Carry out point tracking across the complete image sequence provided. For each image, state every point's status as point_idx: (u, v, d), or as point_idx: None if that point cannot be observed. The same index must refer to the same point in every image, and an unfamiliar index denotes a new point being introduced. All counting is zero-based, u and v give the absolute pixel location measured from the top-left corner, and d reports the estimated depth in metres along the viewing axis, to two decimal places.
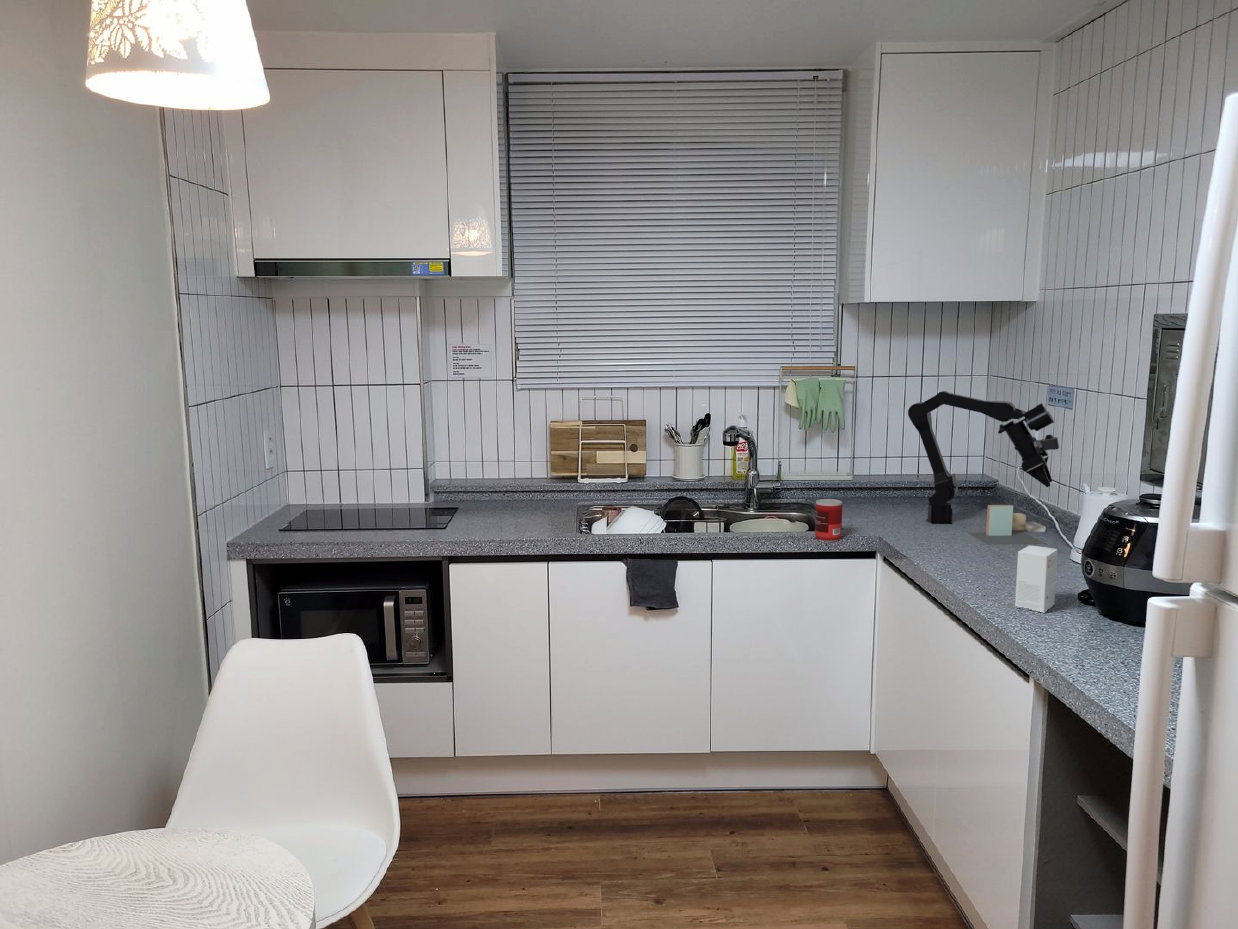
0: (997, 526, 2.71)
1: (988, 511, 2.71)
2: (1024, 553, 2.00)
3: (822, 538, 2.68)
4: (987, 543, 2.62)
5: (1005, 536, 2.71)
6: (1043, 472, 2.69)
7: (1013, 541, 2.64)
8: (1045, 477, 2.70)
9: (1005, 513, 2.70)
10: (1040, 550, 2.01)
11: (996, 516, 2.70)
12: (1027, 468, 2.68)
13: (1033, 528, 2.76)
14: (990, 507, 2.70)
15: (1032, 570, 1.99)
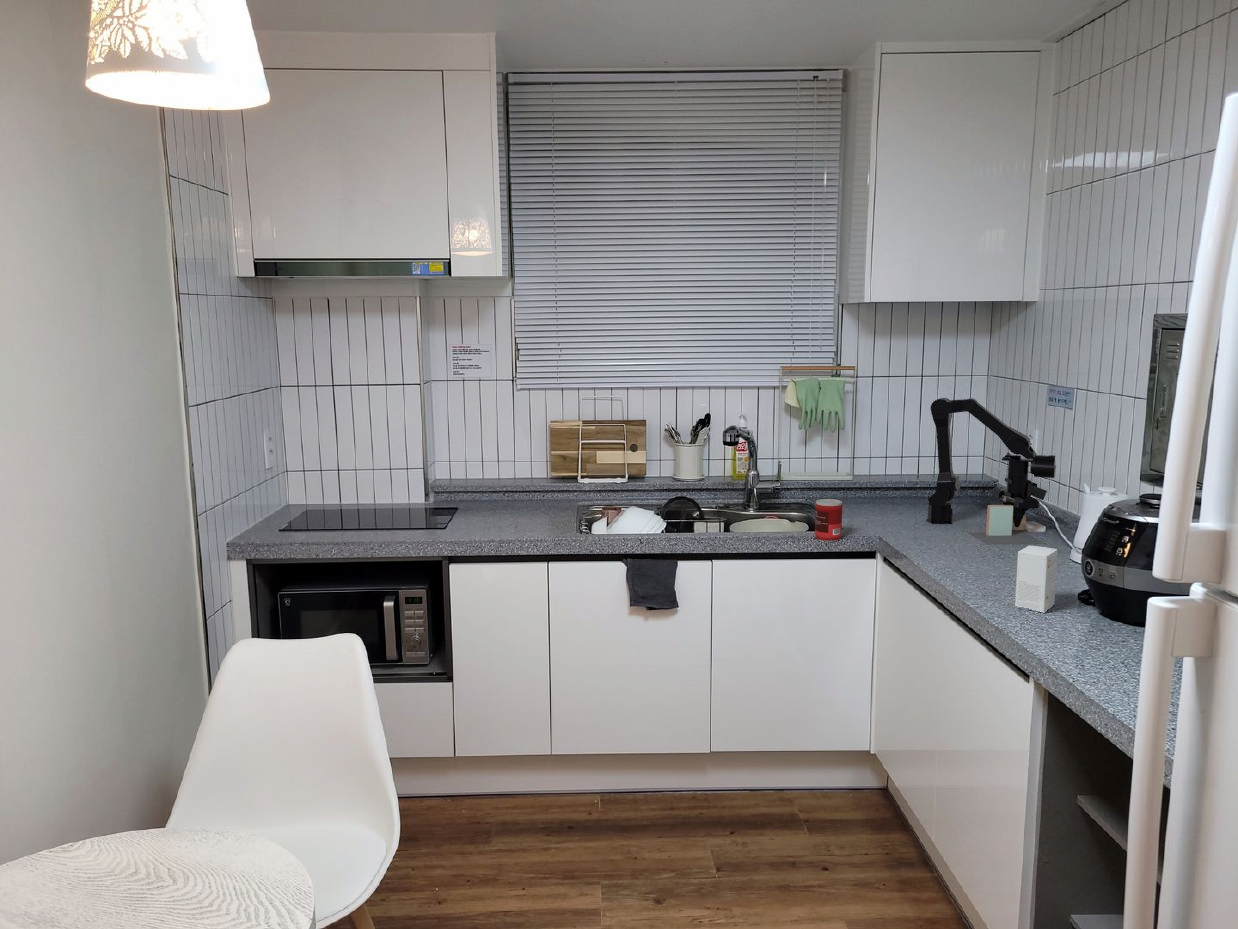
0: (997, 526, 2.71)
1: (988, 511, 2.71)
2: (1024, 553, 2.00)
3: (822, 538, 2.68)
4: (987, 543, 2.62)
5: (1005, 536, 2.71)
6: (1023, 513, 2.77)
7: (1013, 541, 2.64)
8: (1021, 518, 2.77)
9: (1005, 513, 2.70)
10: (1040, 550, 2.01)
11: (996, 516, 2.70)
12: (1023, 506, 2.70)
13: (1033, 528, 2.76)
14: (990, 507, 2.70)
15: (1032, 570, 1.99)
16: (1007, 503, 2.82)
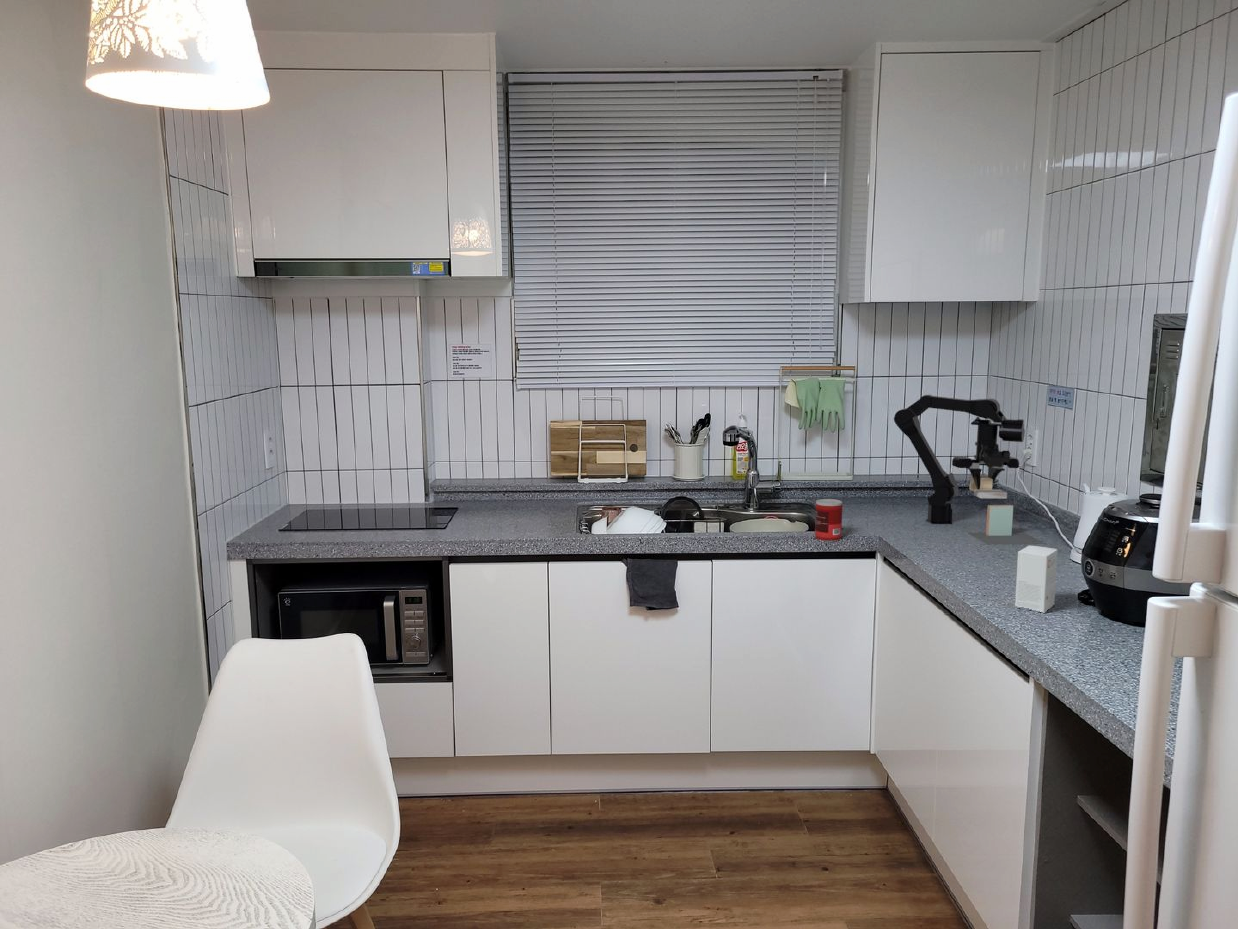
0: (997, 526, 2.71)
1: (988, 511, 2.71)
2: (1024, 553, 2.00)
3: (822, 538, 2.68)
4: (987, 543, 2.62)
5: (1005, 536, 2.71)
6: (975, 476, 2.81)
7: (1013, 541, 2.64)
8: (976, 481, 2.82)
9: (1005, 513, 2.70)
10: (1040, 550, 2.01)
11: (996, 516, 2.70)
12: (952, 464, 2.84)
13: (975, 491, 2.79)
14: (990, 507, 2.70)
15: (1032, 570, 1.99)
16: (989, 468, 2.84)
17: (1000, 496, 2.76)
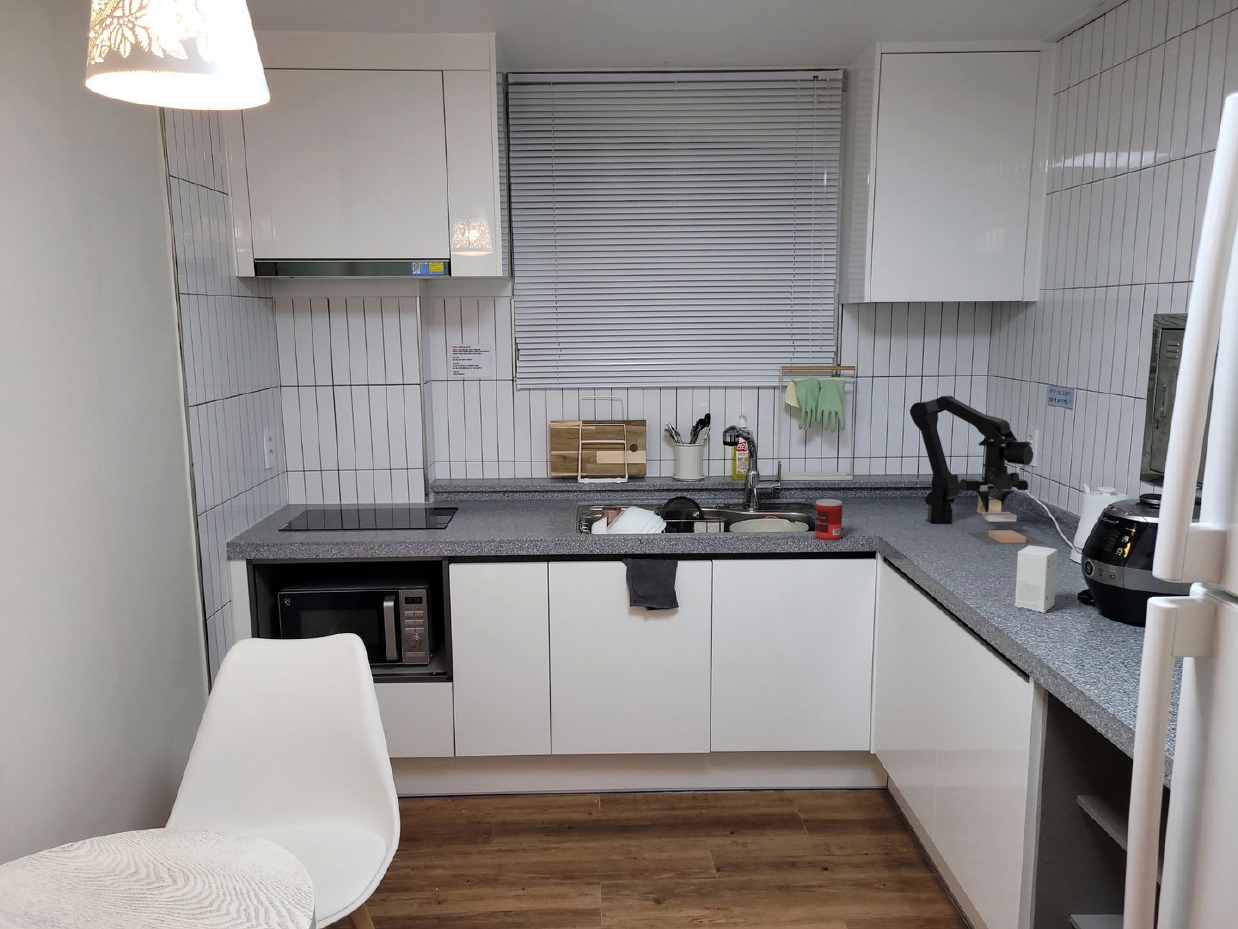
0: None
1: (998, 539, 2.64)
2: (1024, 553, 2.00)
3: (822, 538, 2.68)
4: (987, 543, 2.62)
5: None
6: (983, 498, 2.75)
7: None
8: (984, 503, 2.76)
9: None
10: (1040, 550, 2.01)
11: None
12: (960, 486, 2.77)
13: (984, 514, 2.73)
14: (1001, 542, 2.63)
15: (1032, 570, 1.99)
16: (998, 489, 2.78)
17: (1010, 519, 2.69)
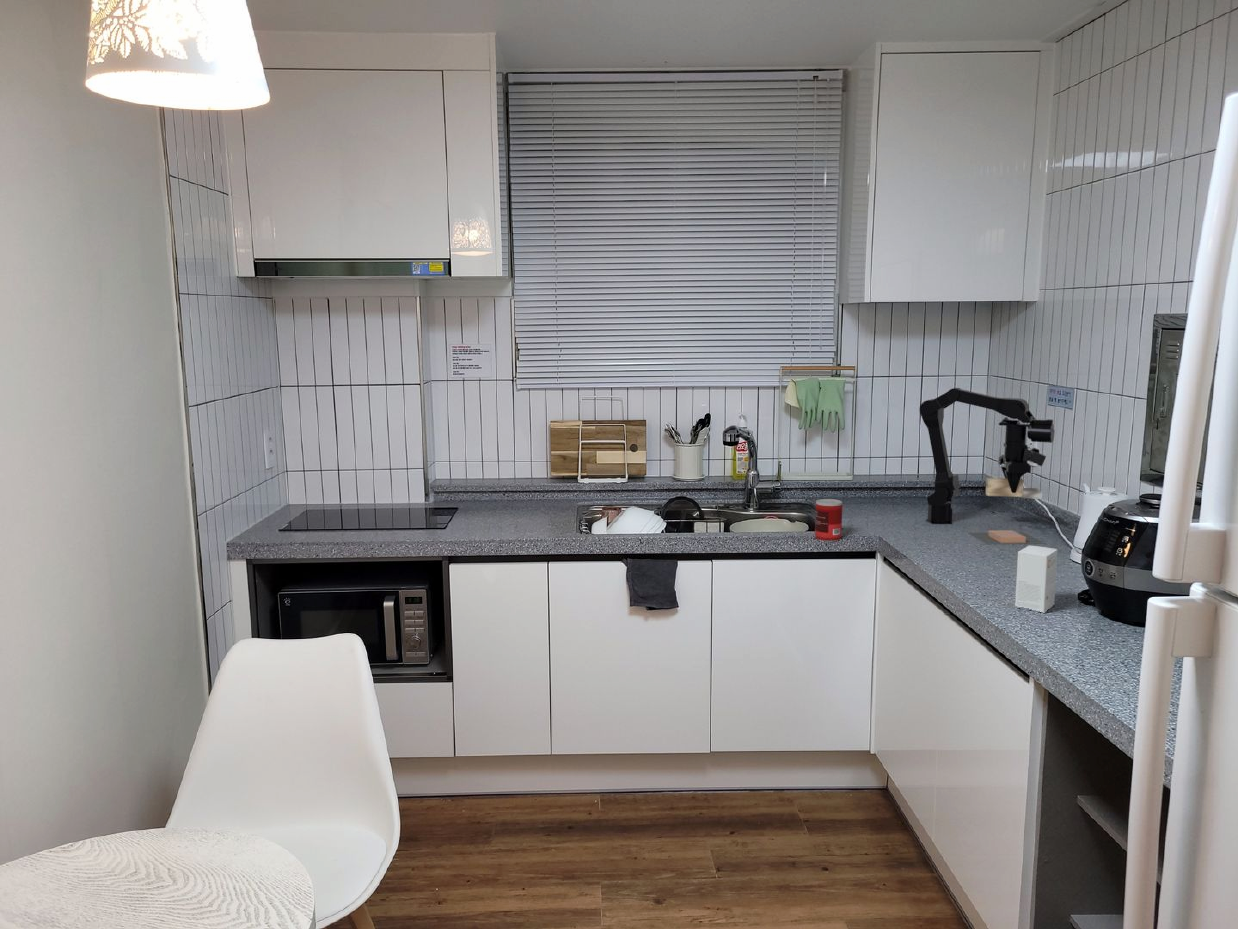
0: None
1: (998, 539, 2.64)
2: (1024, 553, 2.00)
3: (822, 538, 2.68)
4: (987, 543, 2.62)
5: None
6: (1018, 479, 2.74)
7: None
8: (1017, 484, 2.74)
9: None
10: (1040, 550, 2.01)
11: None
12: (1013, 470, 2.68)
13: (1029, 493, 2.73)
14: (1001, 542, 2.63)
15: (1032, 570, 1.99)
16: (1006, 469, 2.79)
17: None
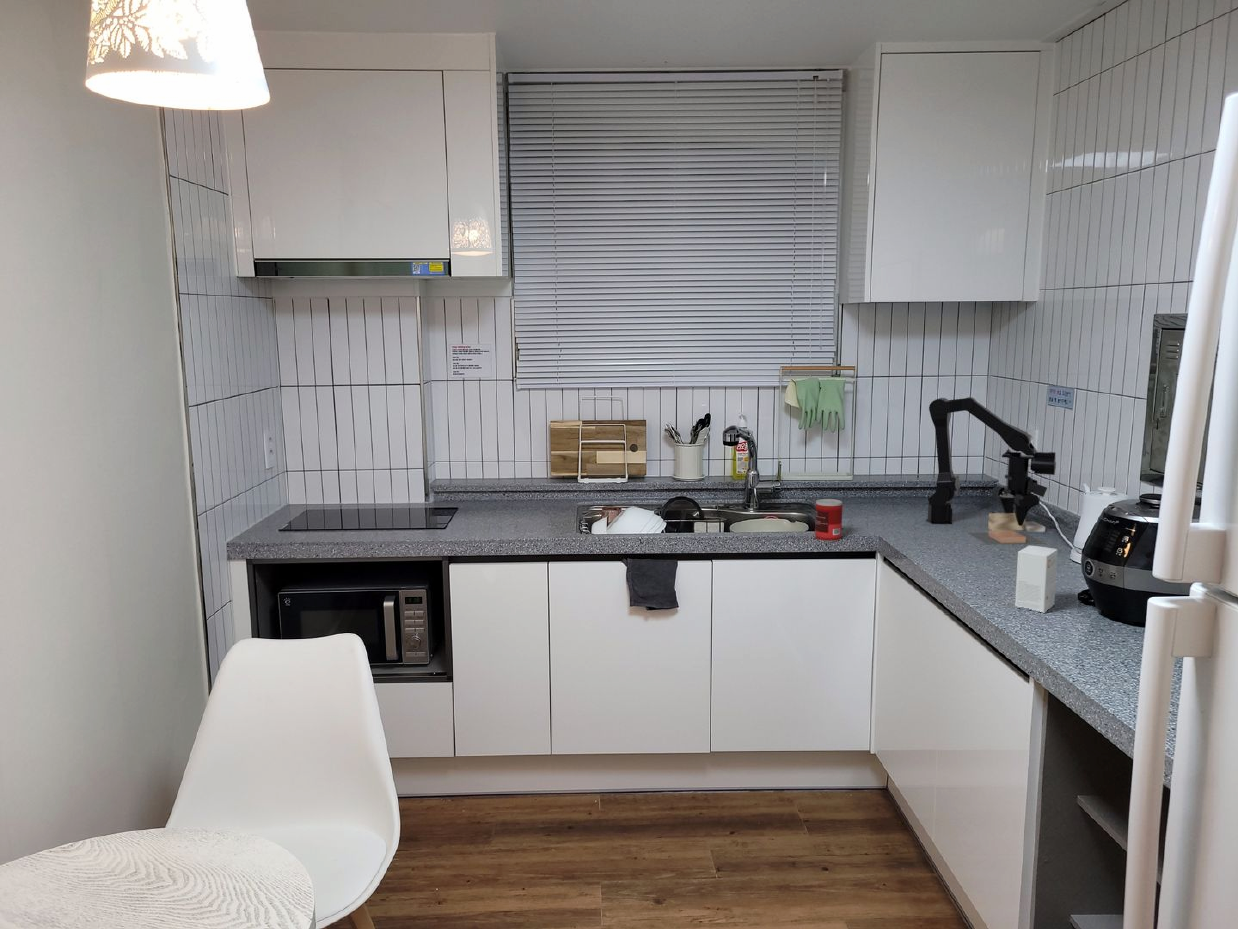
0: None
1: (998, 539, 2.64)
2: (1024, 553, 2.00)
3: (822, 538, 2.68)
4: (987, 543, 2.62)
5: None
6: (1026, 512, 2.74)
7: None
8: (1024, 516, 2.75)
9: None
10: (1040, 550, 2.01)
11: None
12: (1023, 503, 2.70)
13: (1033, 528, 2.76)
14: (1001, 542, 2.63)
15: (1032, 570, 1.99)
16: (1004, 499, 2.84)
17: None
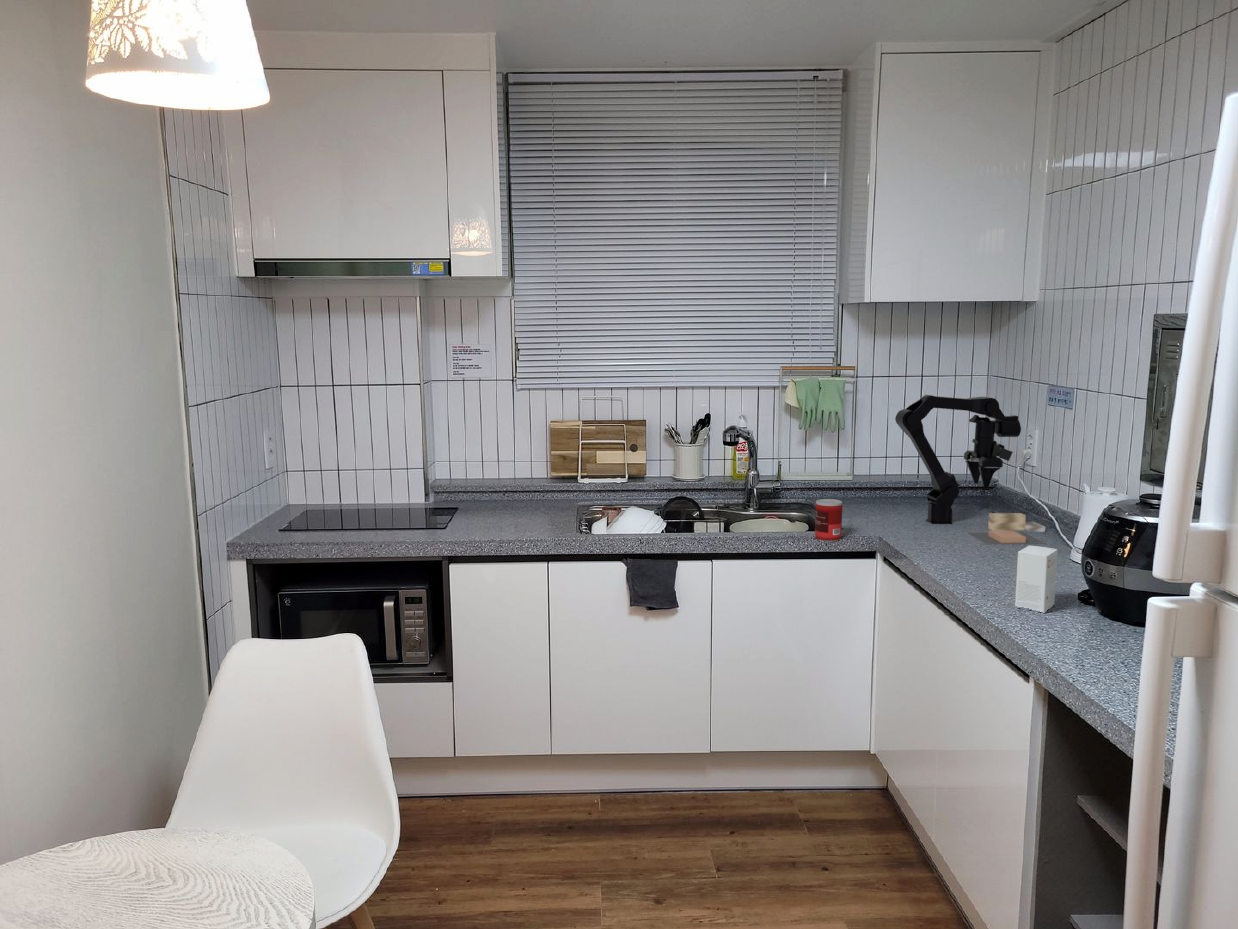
0: None
1: (998, 539, 2.64)
2: (1024, 553, 2.00)
3: (822, 538, 2.68)
4: (987, 543, 2.62)
5: None
6: (991, 474, 2.84)
7: None
8: (989, 479, 2.84)
9: None
10: (1040, 550, 2.01)
11: None
12: (987, 465, 2.80)
13: (1033, 528, 2.76)
14: (1001, 542, 2.63)
15: (1032, 570, 1.99)
16: (971, 462, 2.94)
17: None
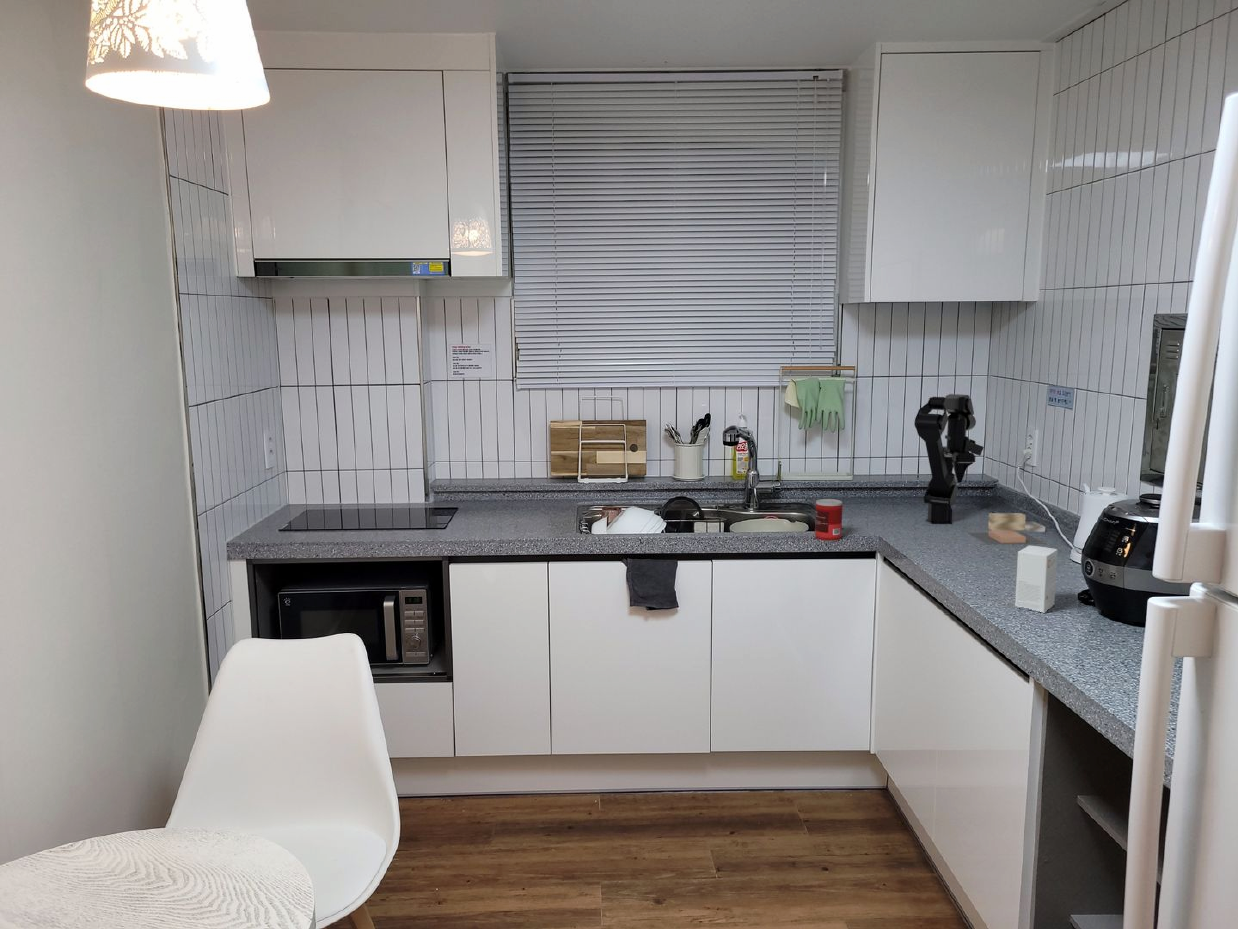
0: None
1: (998, 539, 2.64)
2: (1024, 553, 2.00)
3: (822, 538, 2.68)
4: (987, 543, 2.62)
5: None
6: (964, 469, 2.93)
7: None
8: (963, 474, 2.94)
9: None
10: (1040, 550, 2.01)
11: None
12: (960, 460, 2.89)
13: (1033, 528, 2.76)
14: (1001, 542, 2.63)
15: (1032, 570, 1.99)
16: (944, 458, 3.04)
17: None
